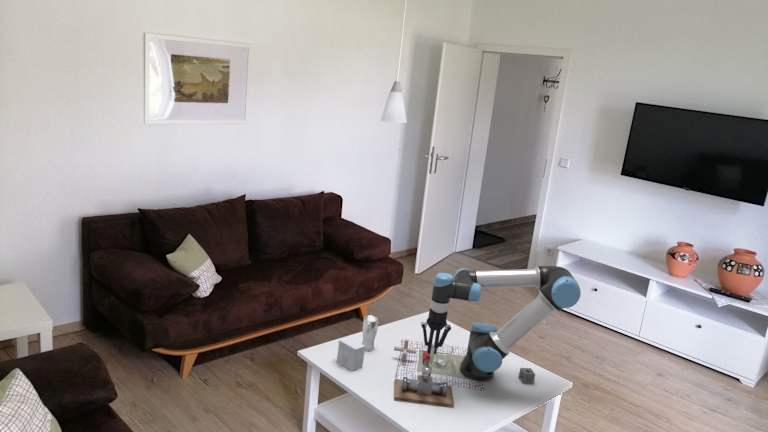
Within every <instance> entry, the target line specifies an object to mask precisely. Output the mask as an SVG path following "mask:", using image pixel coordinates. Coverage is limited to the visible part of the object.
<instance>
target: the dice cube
mask: <svg viewBox="0 0 768 432" xmlns="http://www.w3.org/2000/svg"><path fill="white" fill-rule="evenodd" d="M535 377H536V373H535V372H534V370H533V369H532V368H531V367H520V368H519V373H518V379H519V380H520V382H521V383H522V384H523V385H528V384H529V385H533V384H534V381H535Z"/></svg>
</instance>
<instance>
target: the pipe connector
mask: <svg viewBox="0 0 768 432" xmlns="http://www.w3.org/2000/svg"><path fill="white" fill-rule="evenodd" d="M393 350H394V351H397V352H402V355H401V356H402V357H401V361H402V362H405V361H406V360H407V355H408V353H410V354H414V355H415V354H417V349H414V348H409V339H408V338H404V342H403V347H402V346H395V345H394V348H393Z"/></svg>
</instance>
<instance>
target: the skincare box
mask: <svg viewBox="0 0 768 432" xmlns="http://www.w3.org/2000/svg"><path fill="white" fill-rule="evenodd" d="M364 356H365V346H364V345H362V343H361V342H359V341H357V340H355V339H353V338H351V337H349V336H347V337H344V338H342V339H339V340H338V348H337V357H336V363H338V364H340V365H342V366H343V367H345V368H347V369H348V370H350V371H352V372H354V371H356V370H359V369H362V368H363V365H364V359H365V358H364Z"/></svg>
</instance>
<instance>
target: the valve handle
mask: <svg viewBox="0 0 768 432" xmlns="http://www.w3.org/2000/svg"><path fill="white" fill-rule="evenodd" d="M421 359H422V360H421V361H422V362H421V363H422V365H423V367H422V372H421V375H423V376H426V377H429V376H431V377H432V370H433V368H432V367H431V366H430V362H429V360H430V356H429V354H428V352H427V351H426V350H422V355H421Z"/></svg>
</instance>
